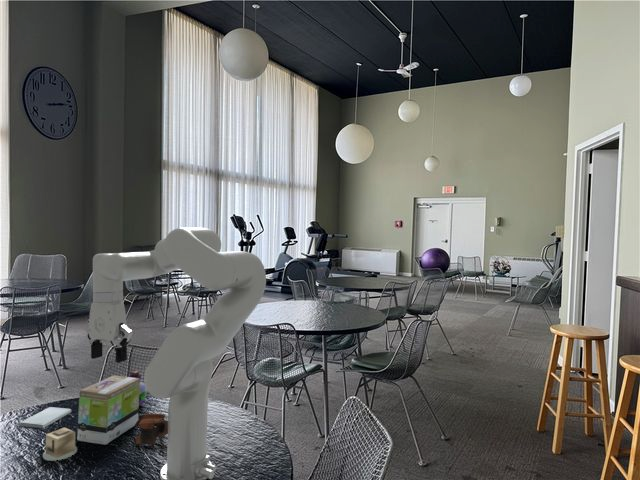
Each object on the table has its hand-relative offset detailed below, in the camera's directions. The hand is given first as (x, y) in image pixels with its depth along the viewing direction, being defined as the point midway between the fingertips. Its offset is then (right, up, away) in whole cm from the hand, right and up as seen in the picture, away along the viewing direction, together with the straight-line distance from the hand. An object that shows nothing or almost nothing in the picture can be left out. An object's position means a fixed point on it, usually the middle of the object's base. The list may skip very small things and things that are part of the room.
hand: (108, 359), depth 123 cm
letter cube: (-12, -24, -3) cm, 27 cm away
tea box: (-5, -25, +10) cm, 27 cm away
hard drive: (-29, -24, +18) cm, 42 cm away
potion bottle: (-6, -24, +30) cm, 39 cm away
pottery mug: (+10, -25, +7) cm, 28 cm away
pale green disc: (-12, -25, -3) cm, 27 cm away
